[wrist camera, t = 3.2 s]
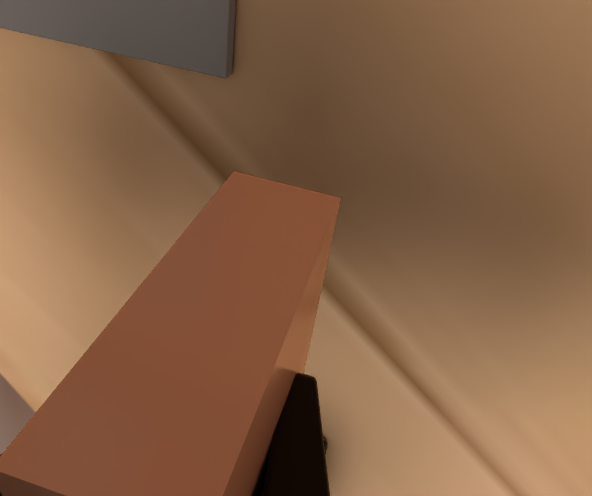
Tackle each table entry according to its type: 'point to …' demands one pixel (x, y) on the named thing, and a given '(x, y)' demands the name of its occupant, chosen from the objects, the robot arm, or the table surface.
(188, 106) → the table surface
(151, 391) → the block
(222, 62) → the mat
